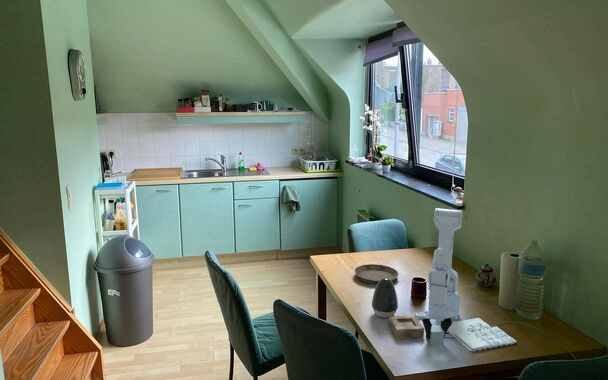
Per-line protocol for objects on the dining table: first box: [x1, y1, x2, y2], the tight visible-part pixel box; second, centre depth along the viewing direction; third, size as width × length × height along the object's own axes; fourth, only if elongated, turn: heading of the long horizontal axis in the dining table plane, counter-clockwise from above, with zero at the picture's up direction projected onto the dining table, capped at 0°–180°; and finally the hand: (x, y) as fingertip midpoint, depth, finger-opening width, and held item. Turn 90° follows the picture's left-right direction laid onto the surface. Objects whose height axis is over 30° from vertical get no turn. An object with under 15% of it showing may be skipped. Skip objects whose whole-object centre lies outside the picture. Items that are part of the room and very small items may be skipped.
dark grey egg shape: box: [371, 278, 399, 319], centre depth 179 cm, size 10×10×15 cm
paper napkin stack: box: [438, 317, 517, 352], centre depth 166 cm, size 19×20×2 cm
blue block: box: [426, 324, 445, 346], centre depth 161 cm, size 4×4×5 cm
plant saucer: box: [354, 263, 399, 286], centre depth 217 cm, size 21×21×3 cm
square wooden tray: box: [388, 314, 425, 339], centre depth 168 cm, size 10×10×4 cm
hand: (435, 337), depth 161 cm, fingers closed on blue block, 4 cm apart
